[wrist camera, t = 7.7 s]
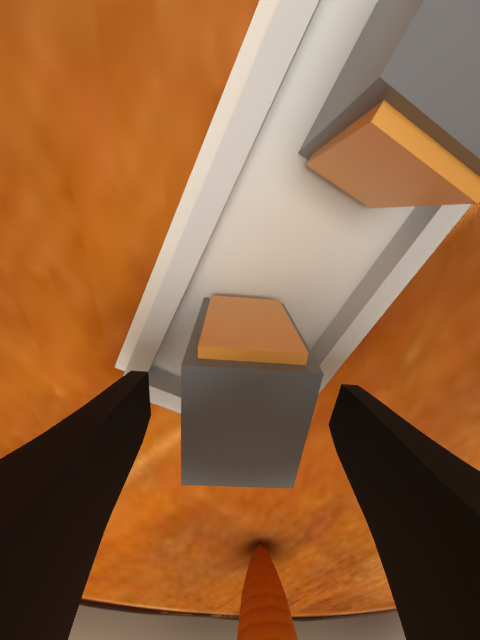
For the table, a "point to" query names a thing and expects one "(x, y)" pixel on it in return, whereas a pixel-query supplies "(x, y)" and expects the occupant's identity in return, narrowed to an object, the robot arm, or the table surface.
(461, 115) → the grey toy block
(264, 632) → the carrot
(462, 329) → the table surface
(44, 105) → the table surface
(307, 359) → the grey block orange top
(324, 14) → the white tray
